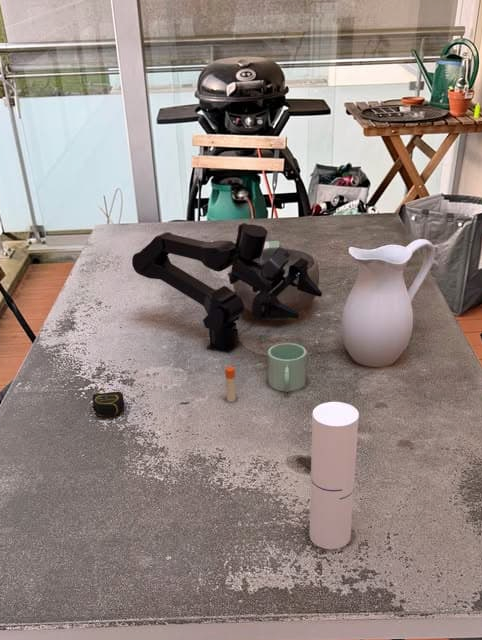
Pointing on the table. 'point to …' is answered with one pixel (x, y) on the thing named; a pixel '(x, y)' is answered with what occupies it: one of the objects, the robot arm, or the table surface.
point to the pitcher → (382, 303)
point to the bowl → (290, 295)
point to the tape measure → (108, 403)
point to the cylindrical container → (332, 473)
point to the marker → (230, 383)
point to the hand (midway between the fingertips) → (310, 305)
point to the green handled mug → (287, 367)
